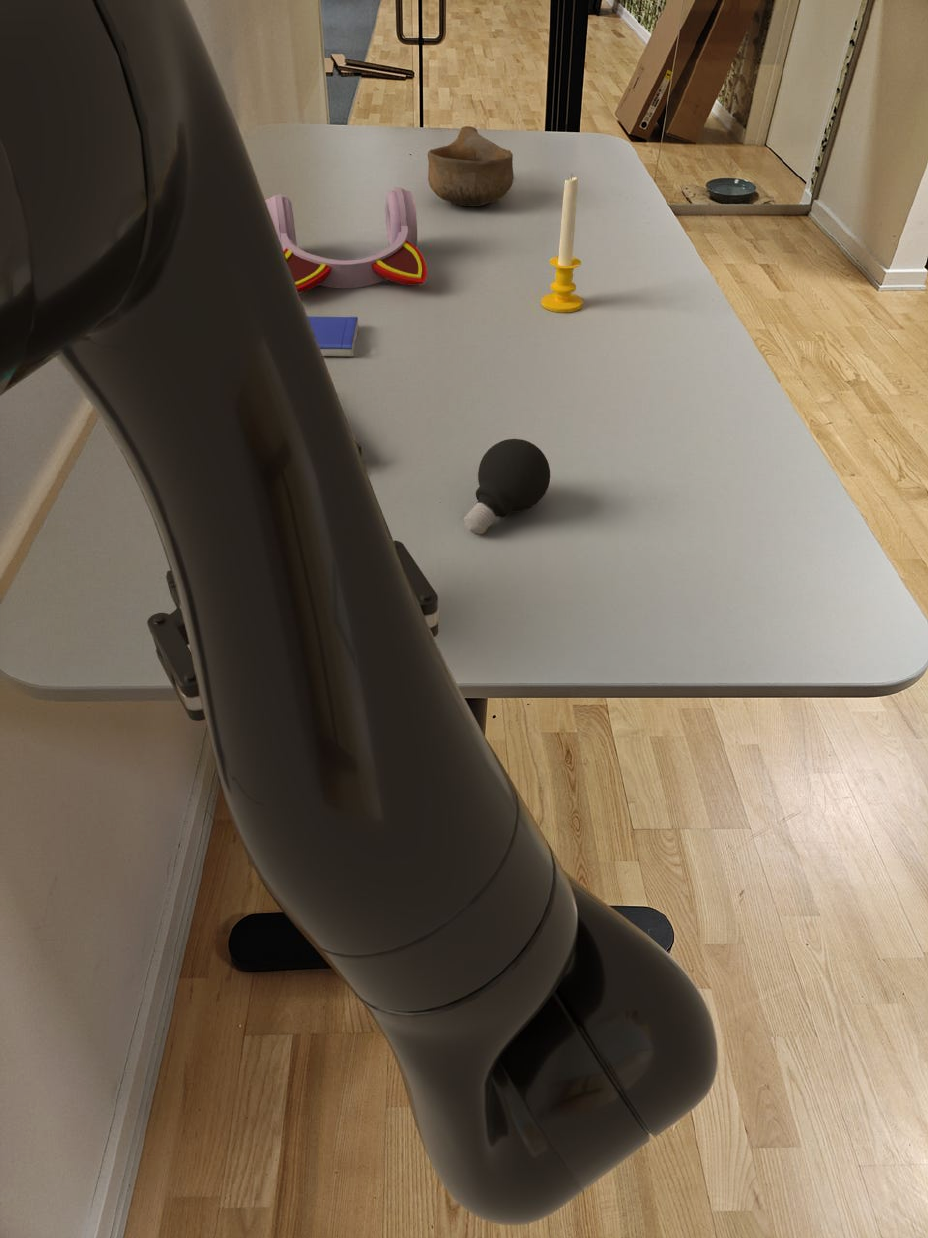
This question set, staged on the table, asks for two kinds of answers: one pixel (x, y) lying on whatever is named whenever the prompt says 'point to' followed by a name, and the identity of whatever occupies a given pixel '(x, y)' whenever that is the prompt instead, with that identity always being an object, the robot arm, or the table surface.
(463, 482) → the table surface
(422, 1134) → the robot arm
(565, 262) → the candle
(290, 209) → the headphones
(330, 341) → the blue book
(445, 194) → the bowl
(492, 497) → the light bulb
